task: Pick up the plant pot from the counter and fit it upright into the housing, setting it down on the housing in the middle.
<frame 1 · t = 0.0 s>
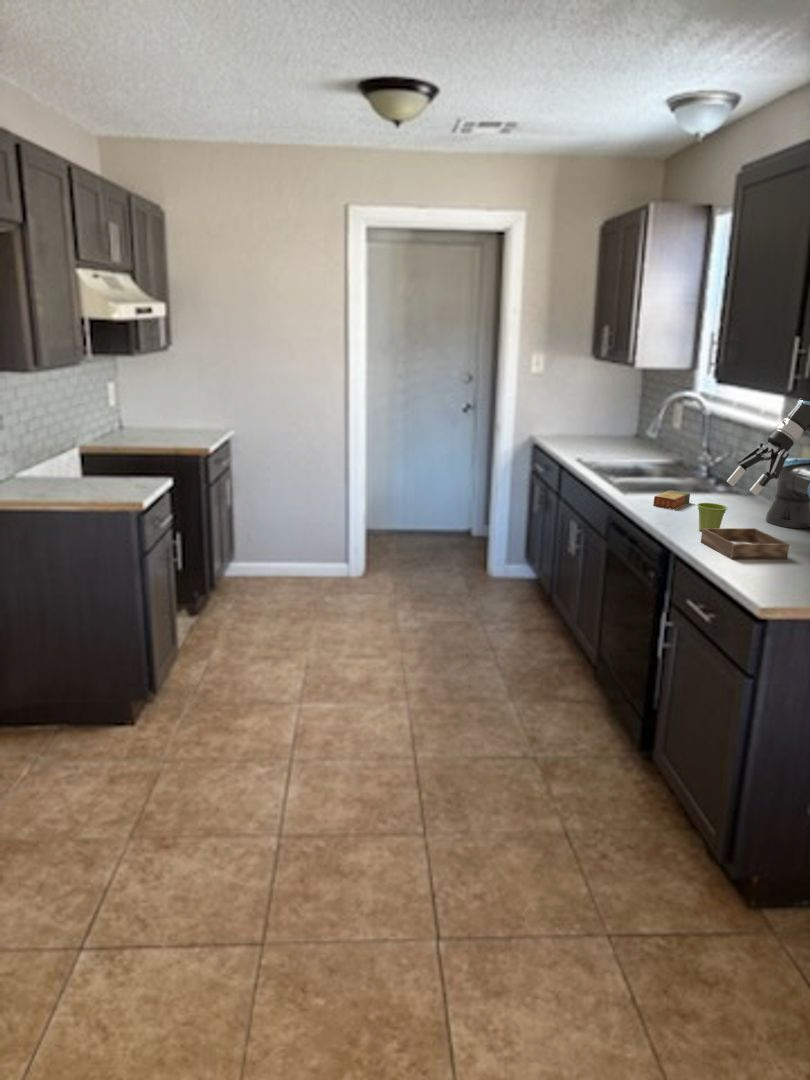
hand: (740, 488, 268), 15 cm above the counter, tool tilted 35°, fingers open, 13 cm apart
plant pot: (708, 531, 274), on the counter
housing: (742, 550, 253), on the counter
carton: (671, 505, 311), on the counter
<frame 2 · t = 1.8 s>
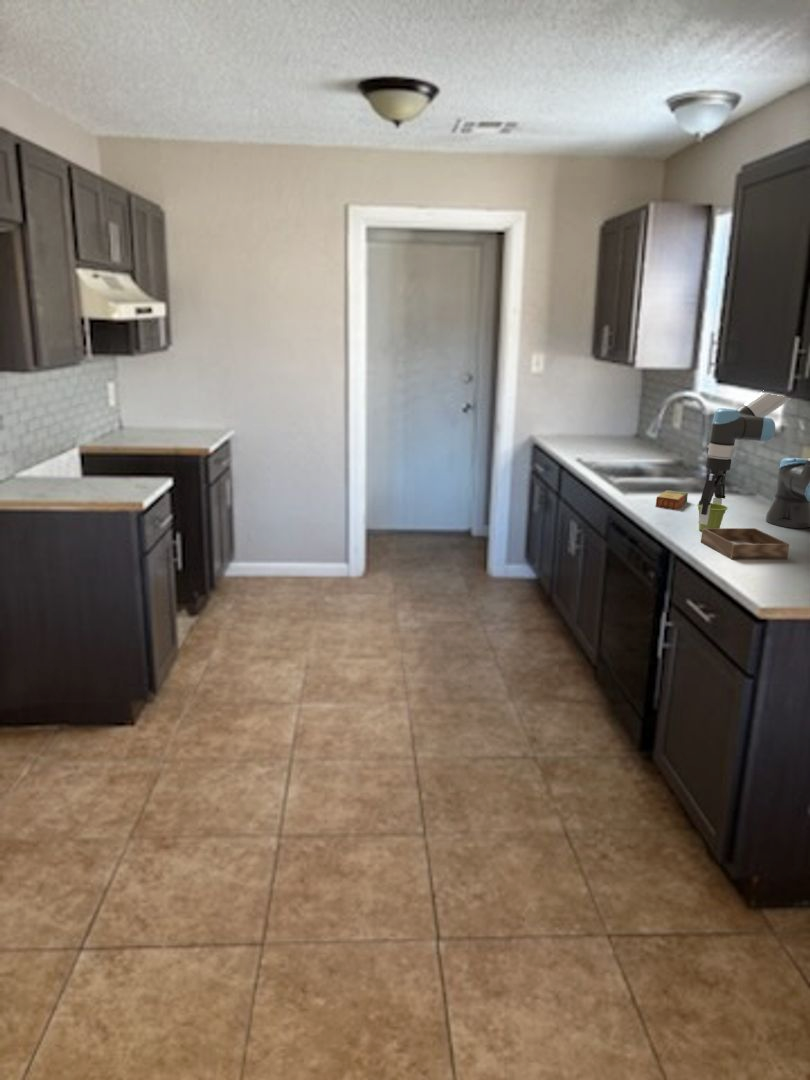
hand: (708, 520, 273), 4 cm above the counter, tool pointing down, fingers open, 13 cm apart
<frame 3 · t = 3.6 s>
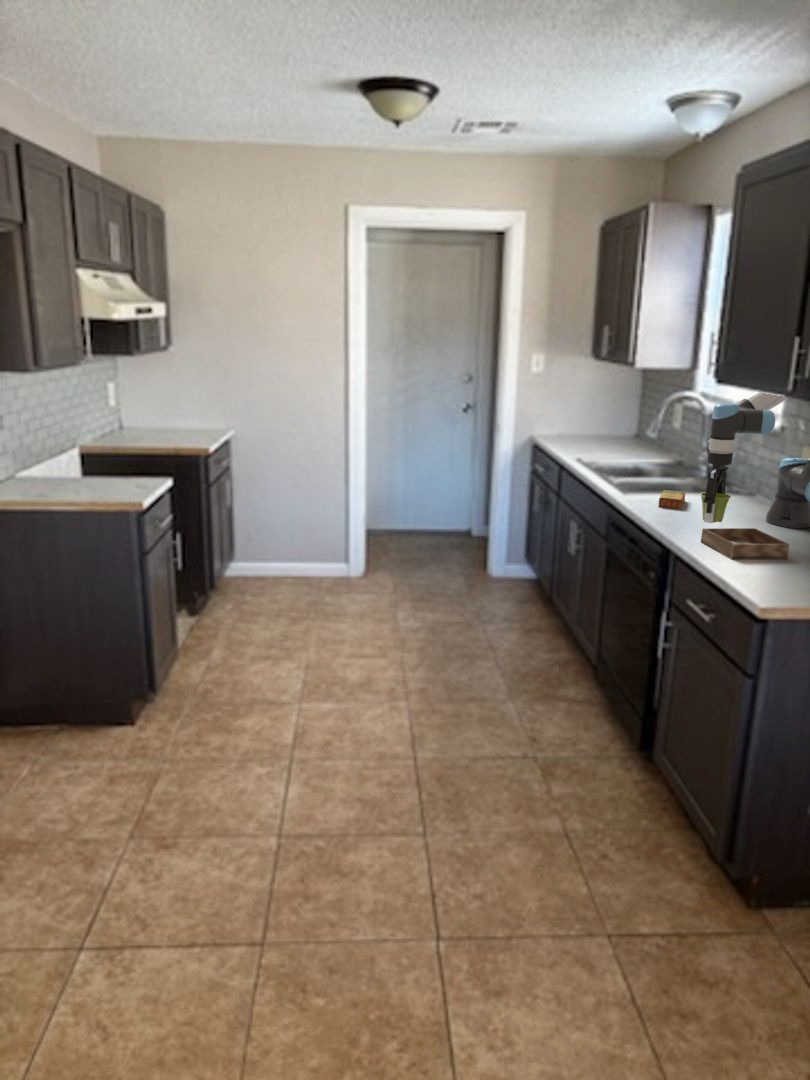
hand: (712, 519, 273), 4 cm above the counter, tool pointing down, fingers closed on plant pot, 8 cm apart
plant pot: (712, 521, 273), point 3 cm above the counter, touching gripper
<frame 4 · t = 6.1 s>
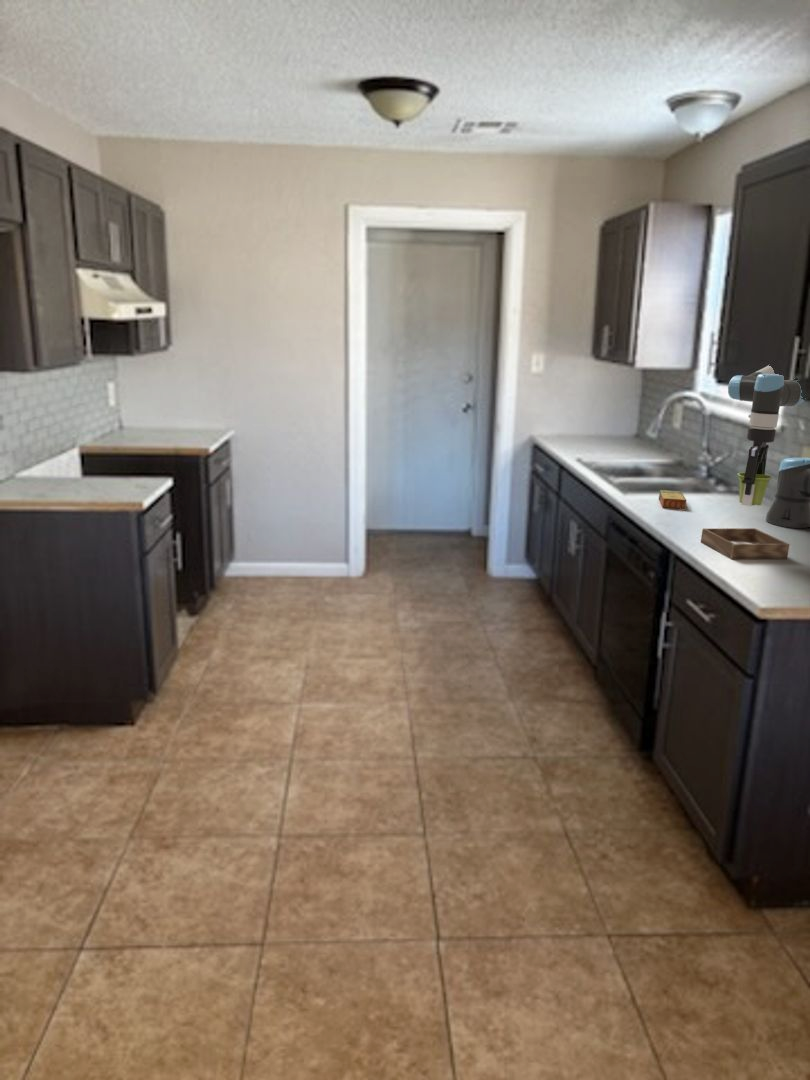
hand: (750, 502, 249), 15 cm above the counter, tool pointing down, fingers closed on plant pot, 8 cm apart
plant pot: (750, 504, 249), point 15 cm above the counter, touching gripper
when the fingers open (2 cm above the counter, at t = 8.9 s): plant pot moves 4 cm, resting on housing.
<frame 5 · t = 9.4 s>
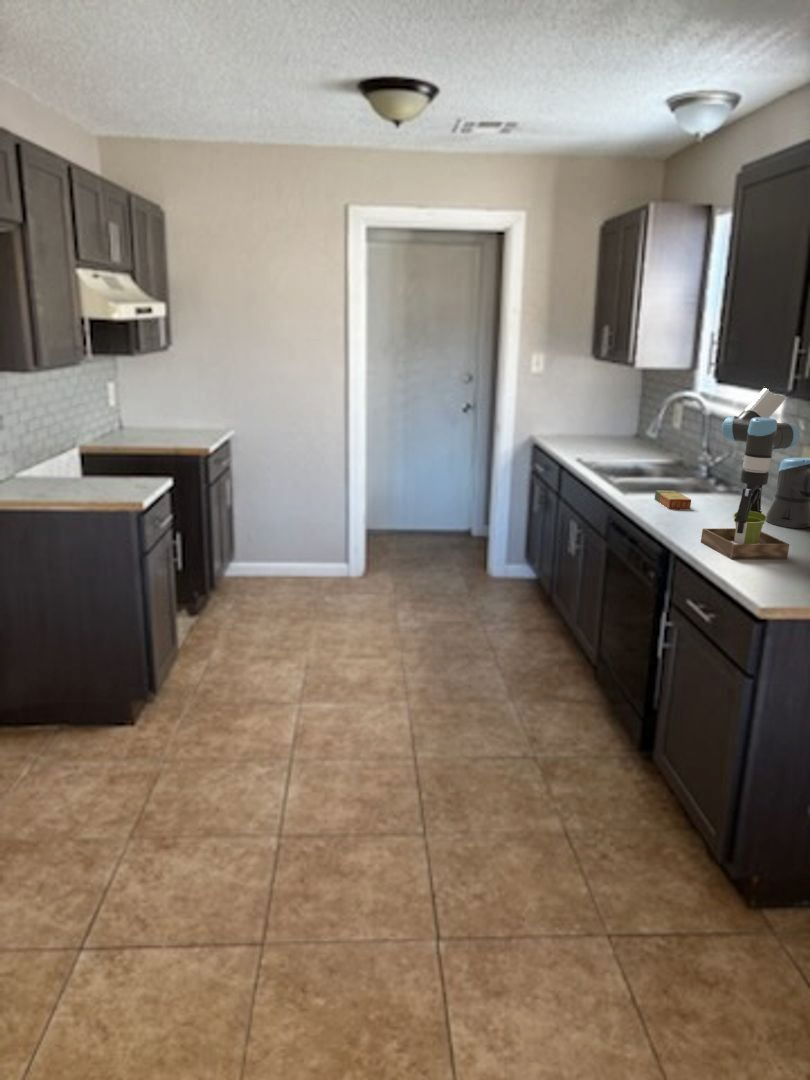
hand: (744, 538, 252), 4 cm above the counter, tool pointing down, fingers open, 13 cm apart
plant pot: (746, 542, 255), point 2 cm above the counter, touching gripper, housing
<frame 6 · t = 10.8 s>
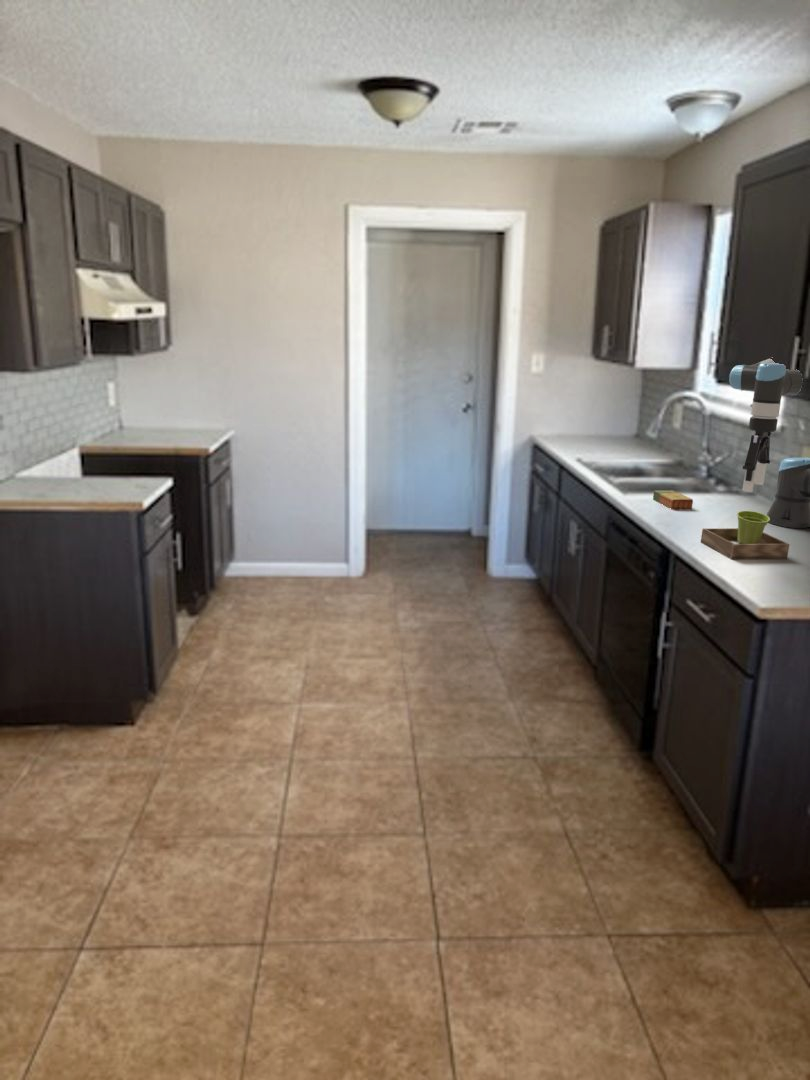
hand: (753, 488, 247), 20 cm above the counter, tool pointing down, fingers open, 13 cm apart
plant pot: (747, 542, 256), point 2 cm above the counter, touching housing
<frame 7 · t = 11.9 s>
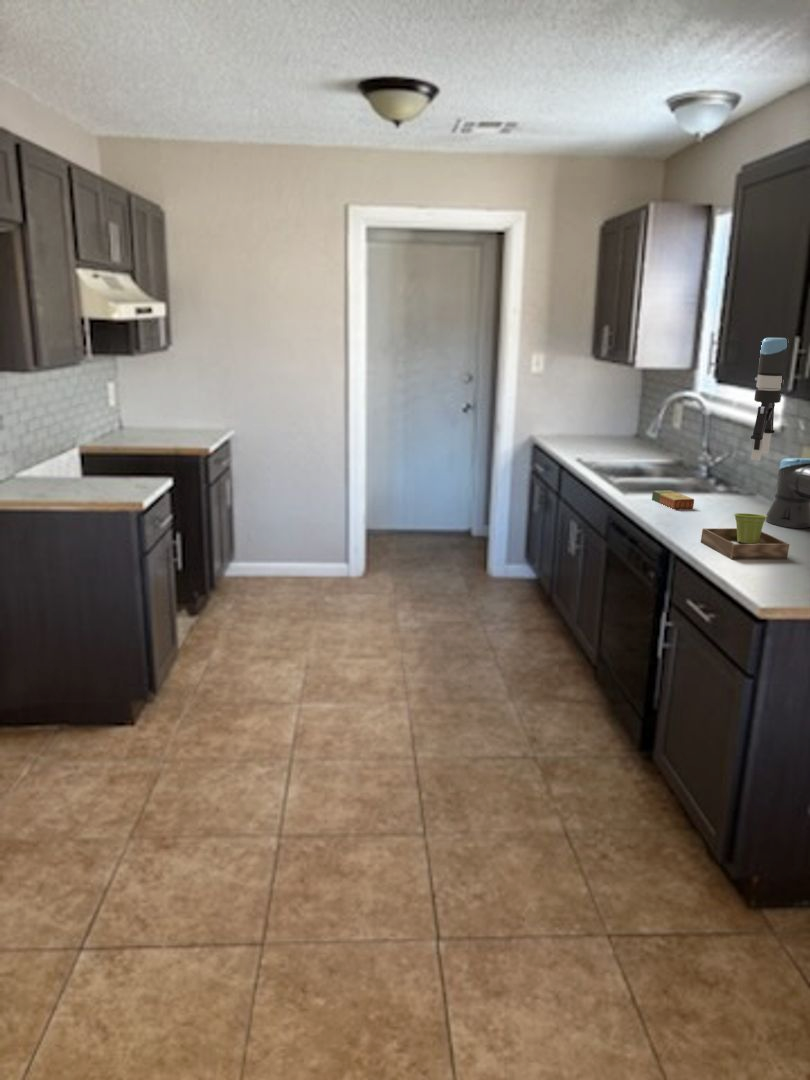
hand: (759, 456, 262), 26 cm above the counter, tool pointing down, fingers open, 13 cm apart
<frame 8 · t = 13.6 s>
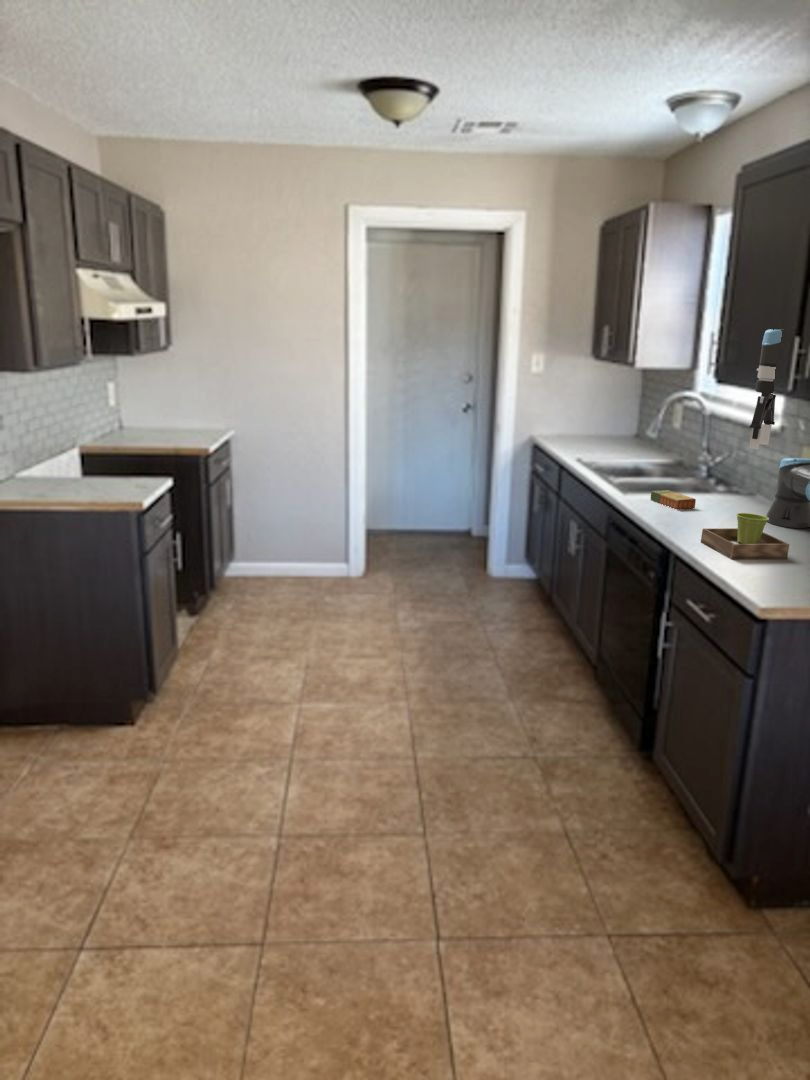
hand: (758, 446, 266), 29 cm above the counter, tool pointing down, fingers open, 13 cm apart
at the end: plant pot inside the target area on the housing (4.4 cm from its centre), point 1.1 cm above the housing's base; plant pot tilted 2°; the gripper is holding nothing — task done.
